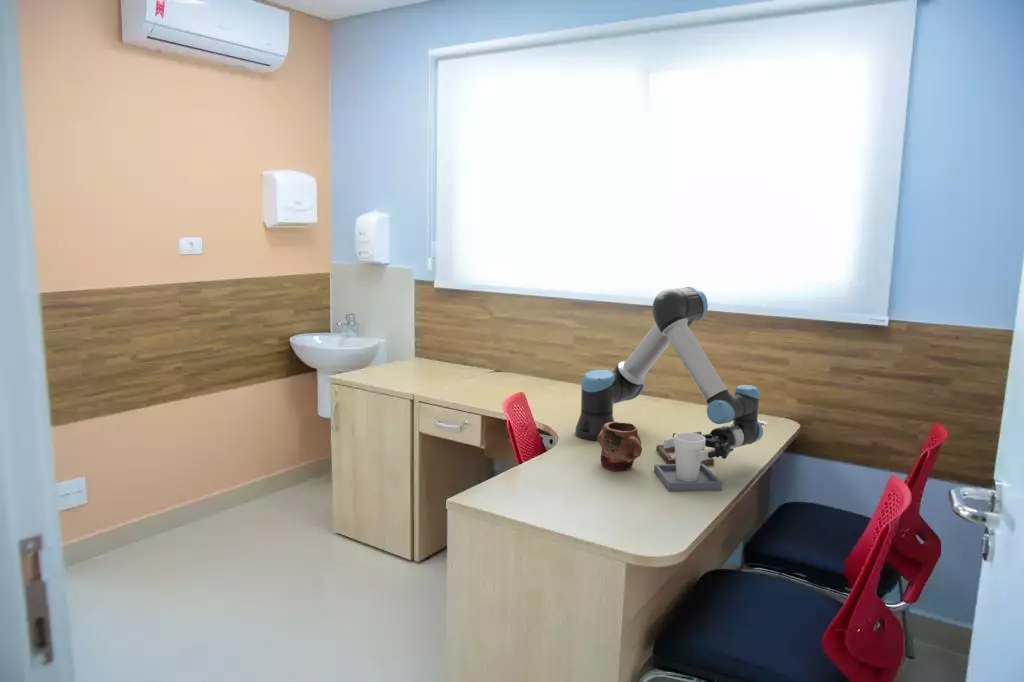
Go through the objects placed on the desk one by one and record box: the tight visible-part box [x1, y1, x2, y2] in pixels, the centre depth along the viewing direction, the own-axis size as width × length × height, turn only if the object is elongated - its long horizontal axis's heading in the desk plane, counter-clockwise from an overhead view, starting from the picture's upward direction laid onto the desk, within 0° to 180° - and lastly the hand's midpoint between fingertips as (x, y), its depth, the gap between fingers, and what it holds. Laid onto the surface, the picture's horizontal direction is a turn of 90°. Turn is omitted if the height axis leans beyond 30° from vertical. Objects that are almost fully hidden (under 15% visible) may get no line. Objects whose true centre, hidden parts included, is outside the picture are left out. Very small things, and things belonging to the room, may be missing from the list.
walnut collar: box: [655, 444, 715, 466], centre depth 243 cm, size 15×15×2 cm
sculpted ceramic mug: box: [596, 421, 643, 472], centre depth 231 cm, size 20×12×14 cm, turn 34°
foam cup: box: [674, 431, 706, 481], centre depth 221 cm, size 10×9×13 cm
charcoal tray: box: [653, 463, 723, 492], centre depth 222 cm, size 16×16×2 cm
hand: (681, 450), depth 219 cm, fingers open, 13 cm apart
